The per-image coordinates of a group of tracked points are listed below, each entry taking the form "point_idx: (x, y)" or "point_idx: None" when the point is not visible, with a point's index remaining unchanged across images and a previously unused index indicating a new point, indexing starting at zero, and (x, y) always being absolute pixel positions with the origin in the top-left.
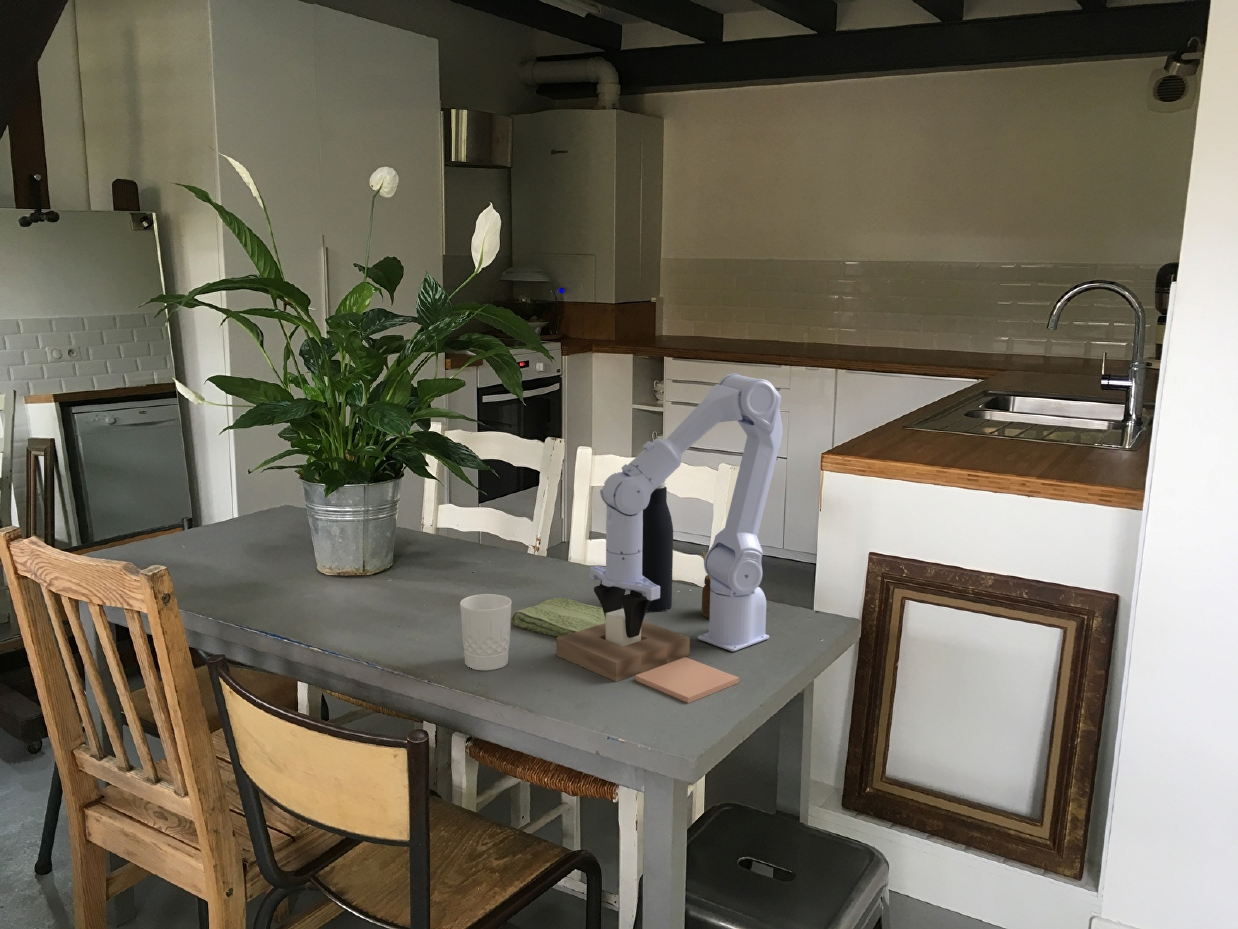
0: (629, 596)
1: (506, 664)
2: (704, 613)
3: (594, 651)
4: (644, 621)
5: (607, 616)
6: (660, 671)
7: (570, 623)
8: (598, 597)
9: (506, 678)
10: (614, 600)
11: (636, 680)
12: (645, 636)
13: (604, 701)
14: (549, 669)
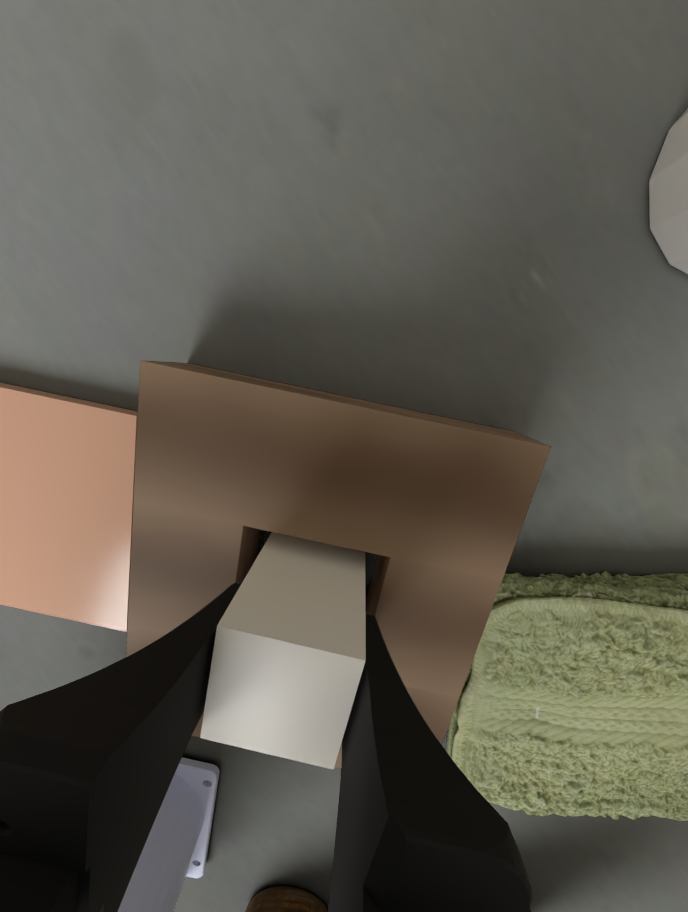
0: (19, 821)
1: (649, 217)
2: (306, 904)
3: (299, 411)
4: None
5: (351, 645)
6: (100, 494)
7: (602, 639)
8: (449, 769)
9: (563, 91)
10: (353, 791)
11: None
12: None
13: (98, 181)
14: (458, 304)
